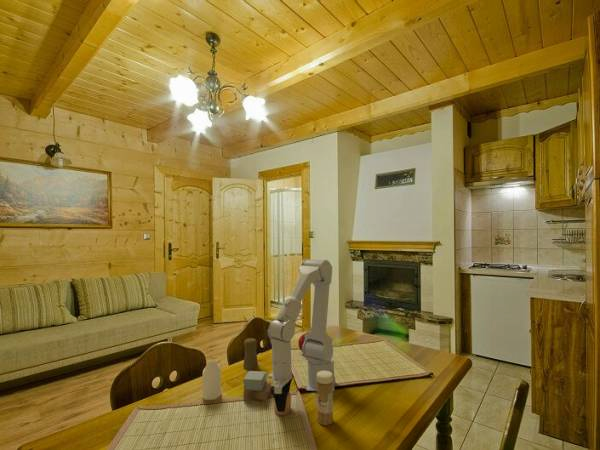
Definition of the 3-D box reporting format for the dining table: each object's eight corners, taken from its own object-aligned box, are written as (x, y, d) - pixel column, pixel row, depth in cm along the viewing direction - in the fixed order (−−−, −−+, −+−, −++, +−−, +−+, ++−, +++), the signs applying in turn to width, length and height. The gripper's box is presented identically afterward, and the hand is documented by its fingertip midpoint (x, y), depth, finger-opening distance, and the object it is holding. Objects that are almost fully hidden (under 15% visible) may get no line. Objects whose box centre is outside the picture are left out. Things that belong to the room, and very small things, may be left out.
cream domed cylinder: (218, 355, 108) (222, 360, 103) (219, 390, 108) (223, 397, 103) (200, 358, 105) (203, 364, 100) (201, 394, 105) (204, 402, 100)
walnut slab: (271, 391, 107) (270, 380, 107) (266, 403, 100) (266, 391, 100) (249, 390, 108) (249, 380, 108) (243, 402, 101) (243, 391, 101)
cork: (255, 370, 123) (254, 342, 123) (240, 369, 124) (240, 341, 124) (260, 363, 129) (259, 337, 129) (246, 363, 130) (246, 336, 130)
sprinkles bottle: (314, 421, 89) (313, 374, 89) (323, 414, 92) (322, 368, 92) (327, 428, 86) (326, 378, 86) (336, 420, 89) (335, 372, 90)
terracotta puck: (292, 406, 97) (291, 391, 97) (289, 415, 92) (289, 400, 92) (276, 405, 97) (275, 390, 97) (273, 415, 92) (272, 399, 92)
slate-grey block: (266, 382, 106) (266, 371, 106) (261, 390, 100) (261, 379, 101) (249, 381, 107) (249, 370, 107) (243, 390, 101) (243, 379, 101)
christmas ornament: (318, 357, 134) (317, 333, 135) (298, 357, 134) (297, 333, 135) (317, 349, 143) (317, 327, 143) (298, 349, 143) (298, 327, 143)
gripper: (273, 350, 102) (274, 392, 102) (263, 370, 88) (264, 419, 88) (294, 351, 102) (295, 393, 101) (288, 371, 87) (289, 420, 87)
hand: (282, 405), depth 94 cm, fingers closed on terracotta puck, 5 cm apart
